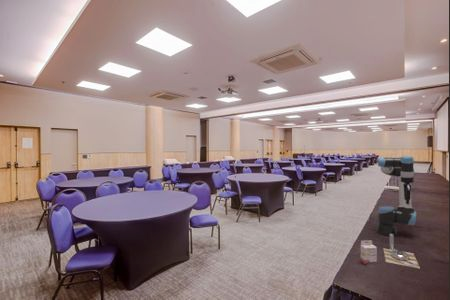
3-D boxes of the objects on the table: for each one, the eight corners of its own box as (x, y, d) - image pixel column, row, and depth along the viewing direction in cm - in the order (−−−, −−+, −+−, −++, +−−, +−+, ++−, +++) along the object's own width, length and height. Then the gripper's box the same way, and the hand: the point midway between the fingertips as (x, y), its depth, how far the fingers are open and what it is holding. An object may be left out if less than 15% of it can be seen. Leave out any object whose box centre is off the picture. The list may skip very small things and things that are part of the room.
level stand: (383, 250, 175) (383, 247, 175) (413, 255, 166) (413, 252, 166) (386, 263, 156) (385, 261, 156) (420, 270, 147) (420, 267, 147)
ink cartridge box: (365, 264, 156) (364, 243, 156) (360, 261, 161) (360, 240, 161) (377, 264, 157) (377, 242, 156) (372, 260, 161) (372, 239, 161)
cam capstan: (384, 251, 169) (383, 234, 168) (396, 250, 170) (396, 233, 169) (404, 263, 152) (404, 244, 152) (418, 262, 153) (417, 242, 153)
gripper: (415, 178, 165) (415, 211, 166) (411, 175, 176) (411, 206, 178) (402, 178, 169) (402, 209, 170) (399, 175, 180) (399, 205, 181)
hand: (407, 207), depth 174 cm, fingers closed
